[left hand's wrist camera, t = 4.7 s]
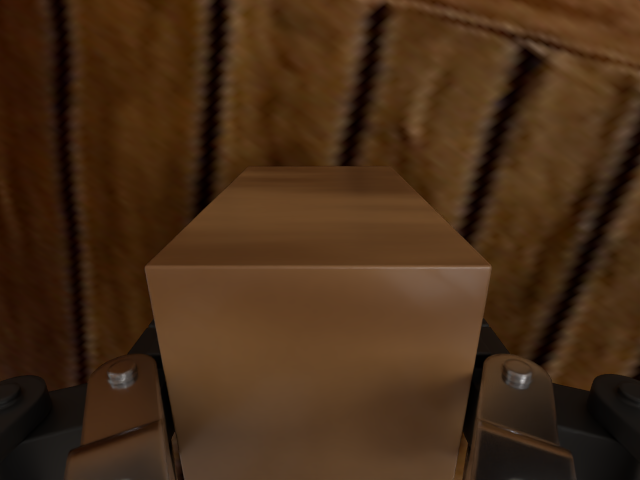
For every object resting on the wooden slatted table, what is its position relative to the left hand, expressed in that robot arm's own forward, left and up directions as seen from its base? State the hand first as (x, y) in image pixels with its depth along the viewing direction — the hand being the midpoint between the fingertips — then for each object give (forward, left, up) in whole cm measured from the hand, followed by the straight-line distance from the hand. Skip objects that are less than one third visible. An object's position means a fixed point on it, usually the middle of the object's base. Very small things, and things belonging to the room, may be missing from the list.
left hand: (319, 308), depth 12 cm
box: (-2, +9, -6) cm, 11 cm away
